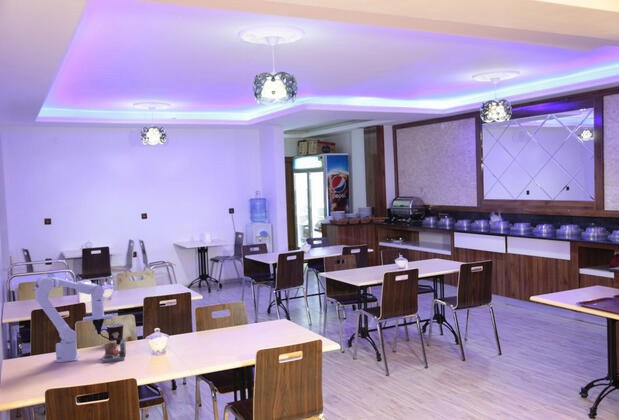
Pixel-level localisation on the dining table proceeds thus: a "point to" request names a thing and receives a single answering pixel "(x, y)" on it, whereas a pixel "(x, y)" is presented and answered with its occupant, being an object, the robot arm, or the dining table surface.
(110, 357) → the press bed
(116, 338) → the coffee mug
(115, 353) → the lever
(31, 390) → the dining table surface
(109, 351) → the housing block
